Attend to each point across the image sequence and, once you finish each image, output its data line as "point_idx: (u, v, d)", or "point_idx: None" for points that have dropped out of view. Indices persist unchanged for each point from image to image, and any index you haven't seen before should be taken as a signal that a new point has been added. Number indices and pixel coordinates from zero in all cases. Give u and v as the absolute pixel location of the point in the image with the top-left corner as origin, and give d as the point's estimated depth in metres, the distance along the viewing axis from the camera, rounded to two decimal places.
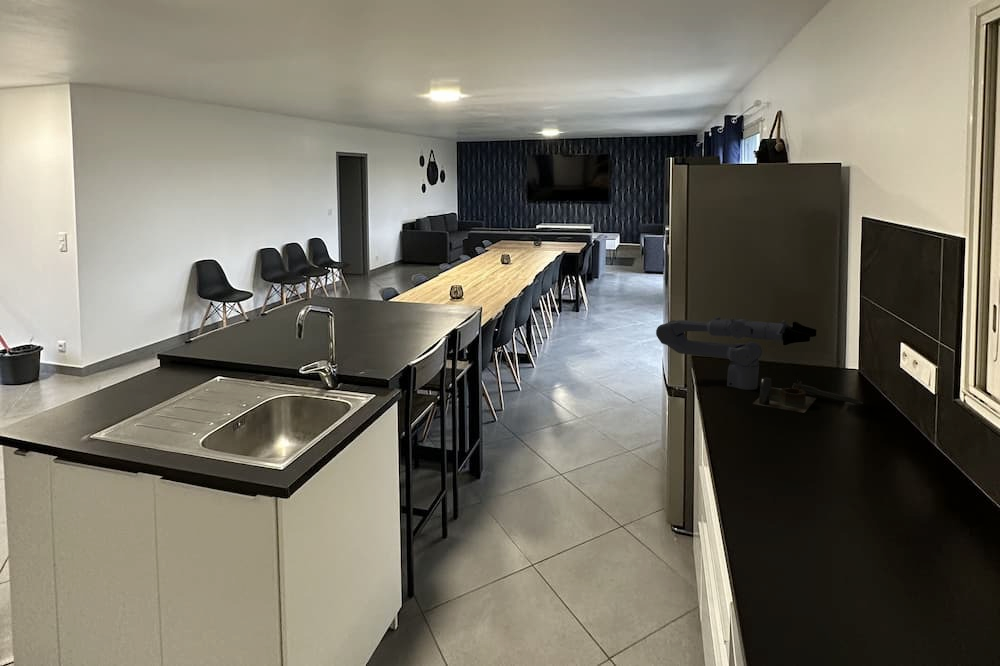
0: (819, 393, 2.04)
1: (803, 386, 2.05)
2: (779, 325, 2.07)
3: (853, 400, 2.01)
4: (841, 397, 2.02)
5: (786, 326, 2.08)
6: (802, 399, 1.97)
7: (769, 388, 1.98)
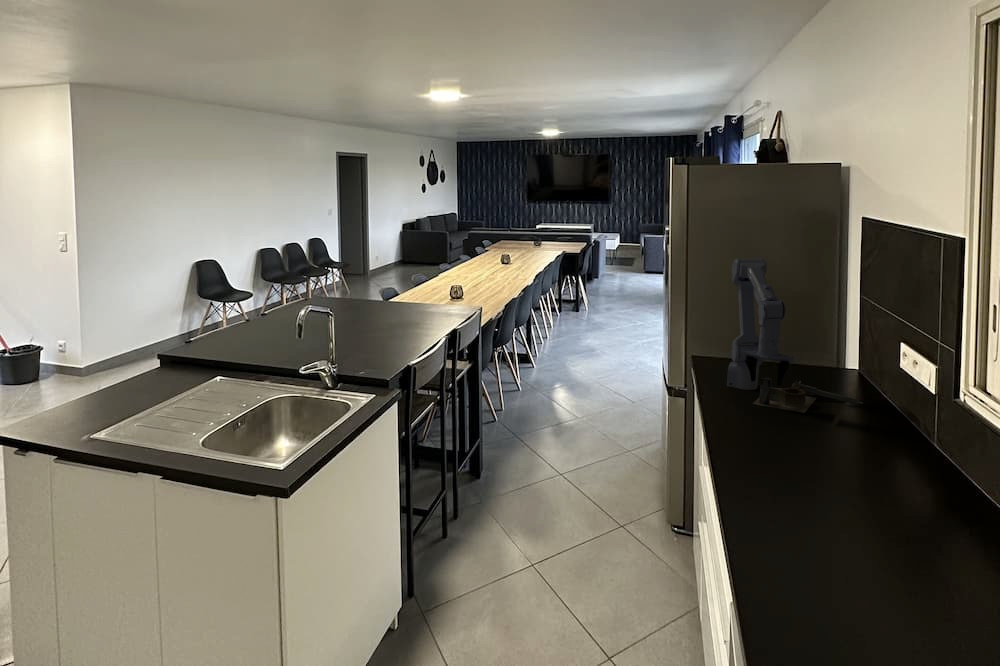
0: (818, 393, 2.03)
1: (802, 386, 2.05)
2: (761, 353, 1.96)
3: (853, 400, 2.00)
4: (841, 397, 2.01)
5: None
6: (802, 399, 1.97)
7: (769, 388, 1.98)
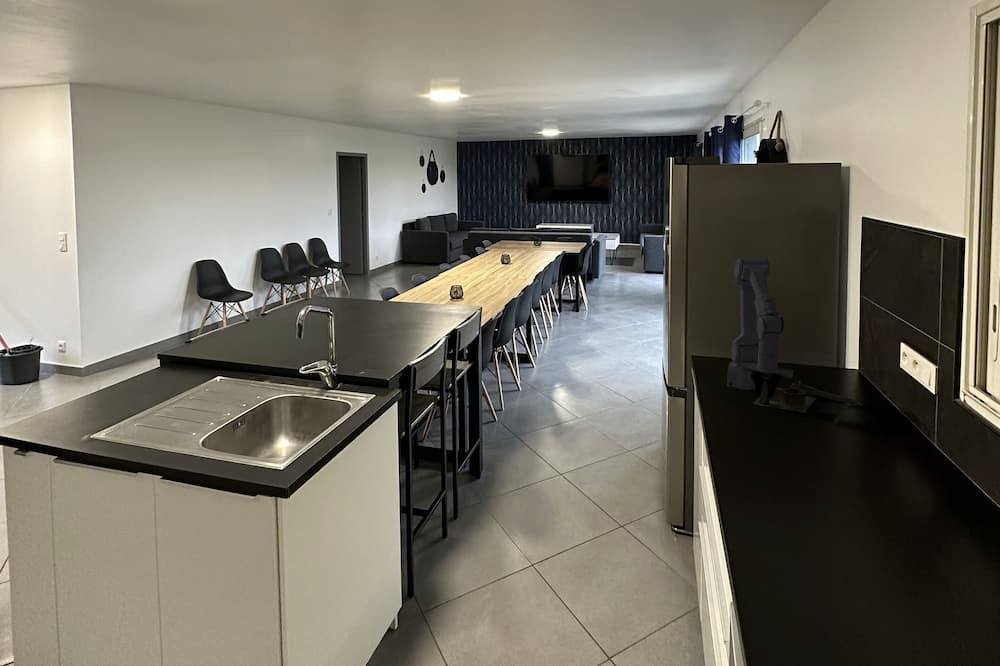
0: (818, 393, 2.03)
1: (802, 386, 2.05)
2: (760, 367, 1.97)
3: (852, 401, 1.99)
4: (840, 398, 2.01)
5: None
6: (802, 399, 1.97)
7: (769, 388, 1.98)
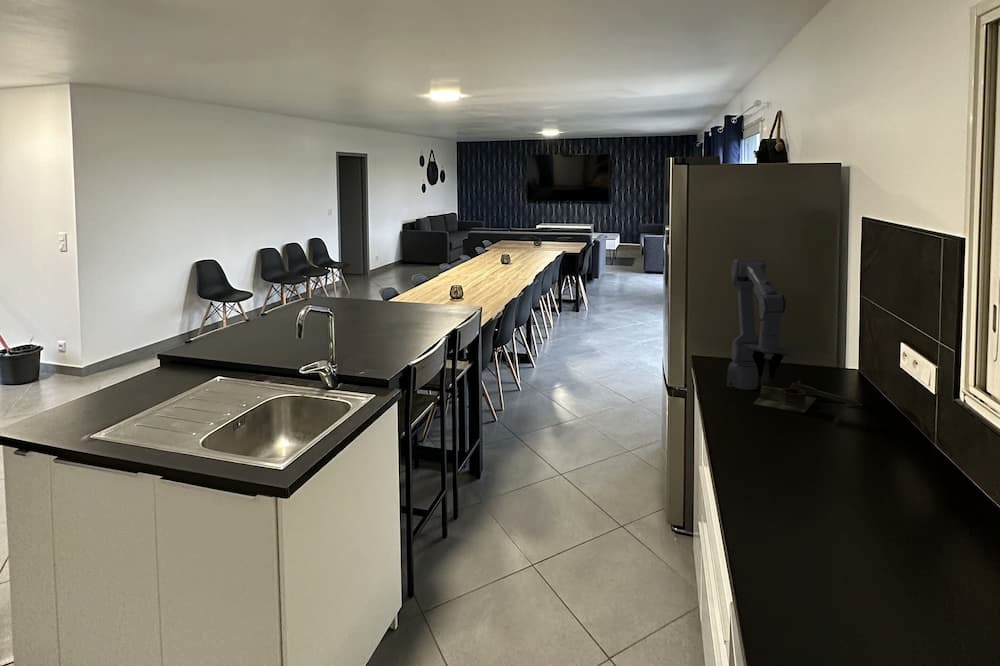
0: (818, 394, 2.03)
1: (802, 386, 2.04)
2: (762, 347, 1.96)
3: (852, 402, 1.99)
4: (840, 398, 2.00)
5: None
6: (802, 399, 1.97)
7: None
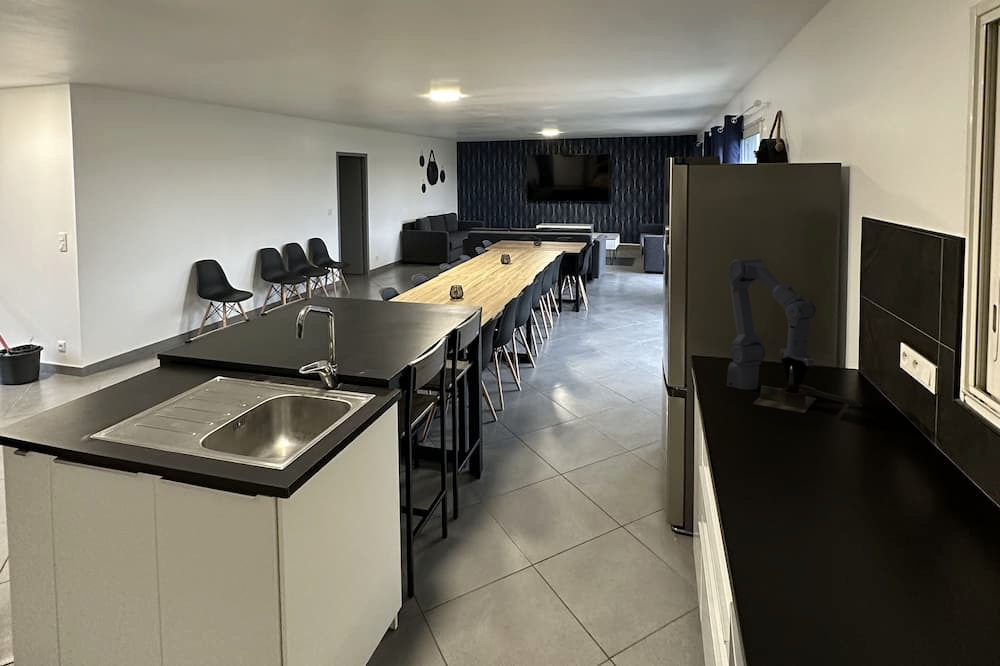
0: (817, 394, 2.03)
1: (801, 386, 2.04)
2: (786, 351, 1.98)
3: (852, 402, 1.99)
4: (840, 399, 2.00)
5: None
6: (802, 399, 1.97)
7: None
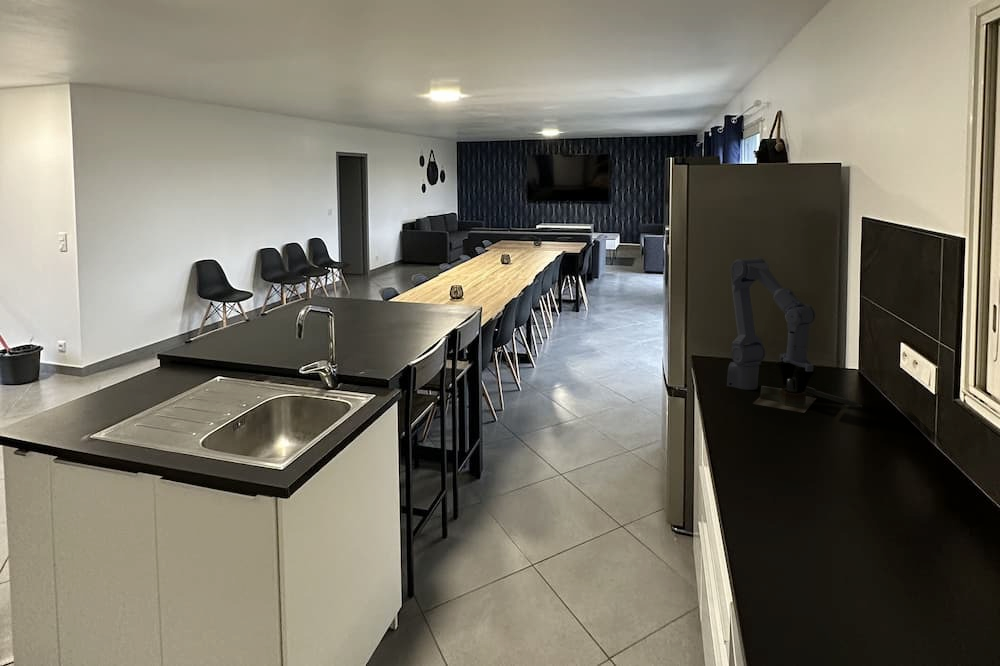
0: (817, 394, 2.02)
1: None
2: (786, 356, 1.98)
3: (852, 403, 1.98)
4: (840, 399, 2.00)
5: None
6: (802, 399, 1.97)
7: (792, 388, 1.98)
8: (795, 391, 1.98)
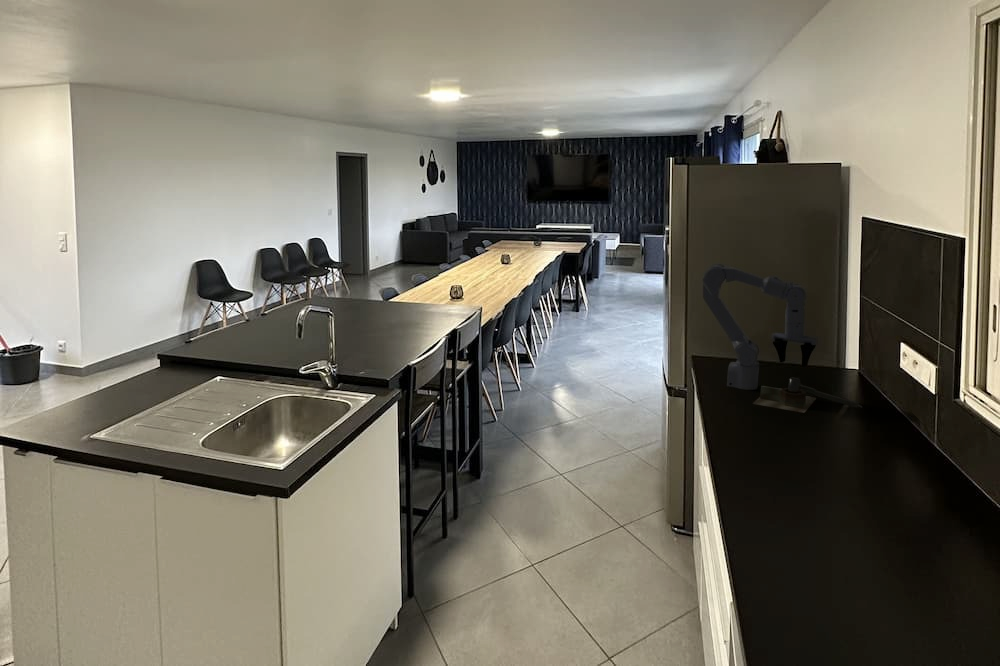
0: (817, 394, 2.02)
1: (801, 386, 2.04)
2: (786, 335, 2.08)
3: (852, 403, 1.98)
4: (839, 399, 1.99)
5: (796, 339, 2.07)
6: (802, 399, 1.97)
7: (794, 388, 1.98)
8: (796, 391, 1.98)
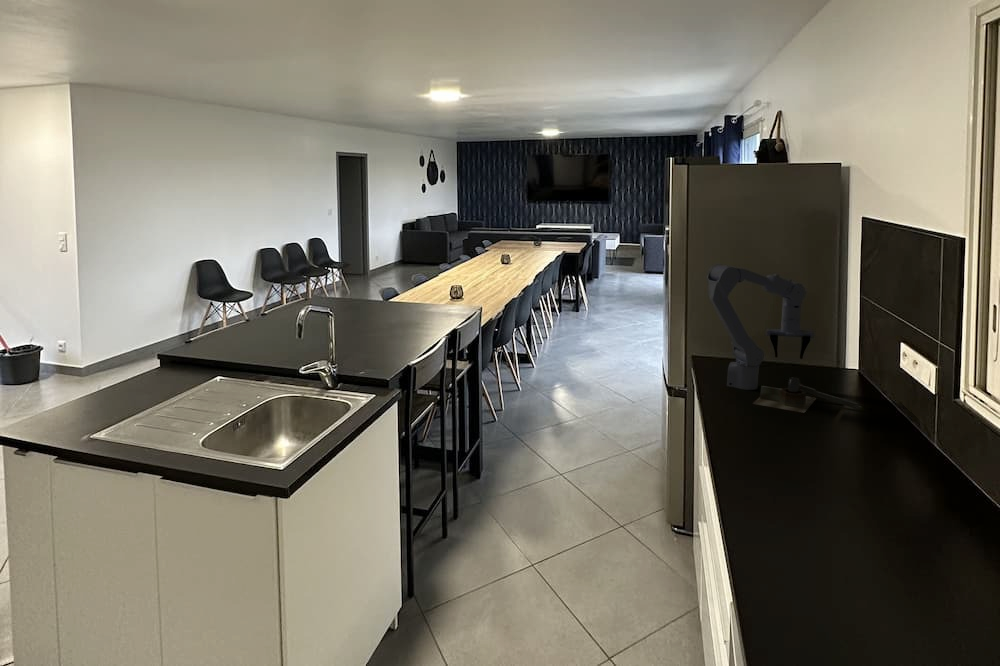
0: (817, 394, 2.02)
1: (801, 386, 2.04)
2: (786, 330, 2.15)
3: (851, 404, 1.97)
4: (839, 400, 1.99)
5: (795, 334, 2.14)
6: (802, 399, 1.97)
7: (793, 388, 1.98)
8: (796, 391, 1.98)
